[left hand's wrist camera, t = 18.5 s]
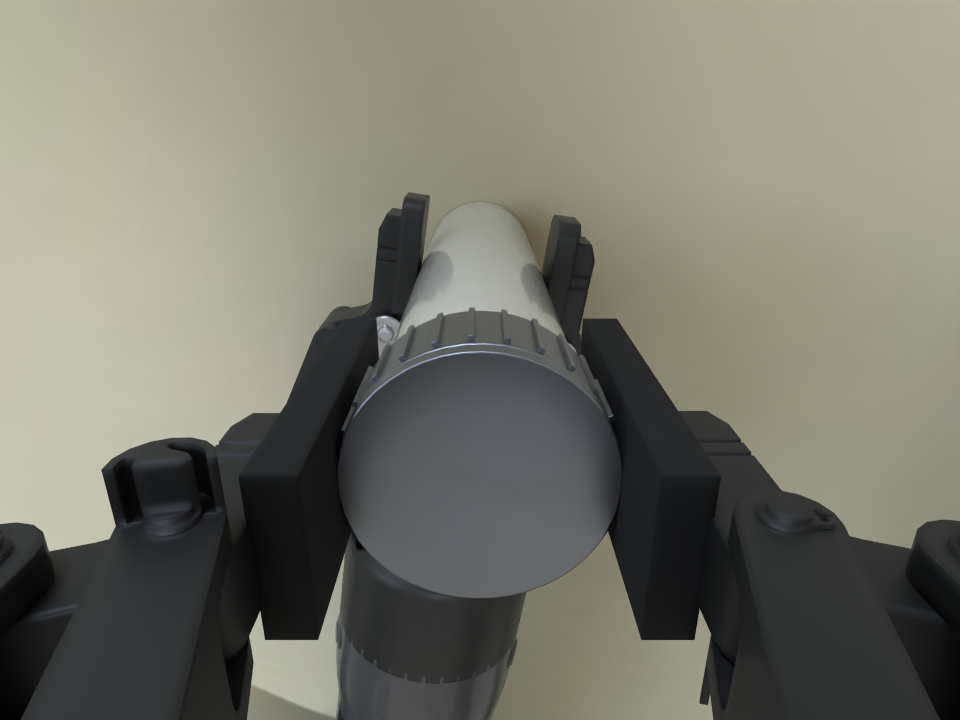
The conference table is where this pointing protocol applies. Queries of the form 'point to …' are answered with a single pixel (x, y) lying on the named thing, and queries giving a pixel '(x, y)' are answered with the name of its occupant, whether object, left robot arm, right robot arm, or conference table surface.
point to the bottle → (479, 270)
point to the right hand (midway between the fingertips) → (493, 210)
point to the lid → (479, 457)
